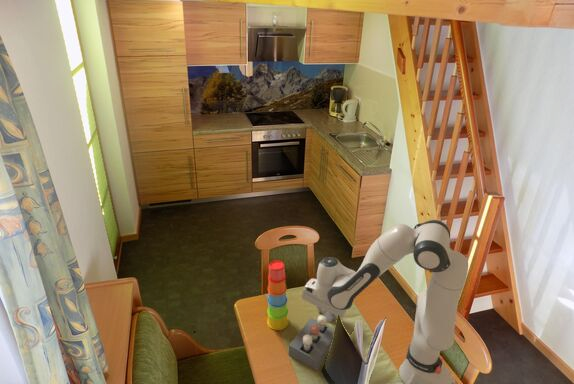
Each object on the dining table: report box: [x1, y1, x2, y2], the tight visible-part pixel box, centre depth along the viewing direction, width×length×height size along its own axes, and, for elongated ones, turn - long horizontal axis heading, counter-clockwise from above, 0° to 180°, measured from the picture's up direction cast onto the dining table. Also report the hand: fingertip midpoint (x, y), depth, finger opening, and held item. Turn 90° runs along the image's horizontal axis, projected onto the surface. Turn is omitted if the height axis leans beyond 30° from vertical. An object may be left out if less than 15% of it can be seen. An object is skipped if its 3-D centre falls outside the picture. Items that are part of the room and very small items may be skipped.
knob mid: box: [310, 325, 320, 341], centre depth 167 cm, size 4×4×6 cm
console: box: [288, 317, 336, 371], centre depth 170 cm, size 14×19×6 cm
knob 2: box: [316, 314, 328, 331], centre depth 172 cm, size 4×4×6 cm
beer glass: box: [325, 311, 337, 323], centre depth 184 cm, size 7×7×15 cm
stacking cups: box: [266, 260, 290, 331], centre depth 175 cm, size 10×10×35 cm
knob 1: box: [303, 335, 313, 351], centre depth 162 cm, size 4×4×6 cm
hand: (321, 314), depth 169 cm, fingers closed
